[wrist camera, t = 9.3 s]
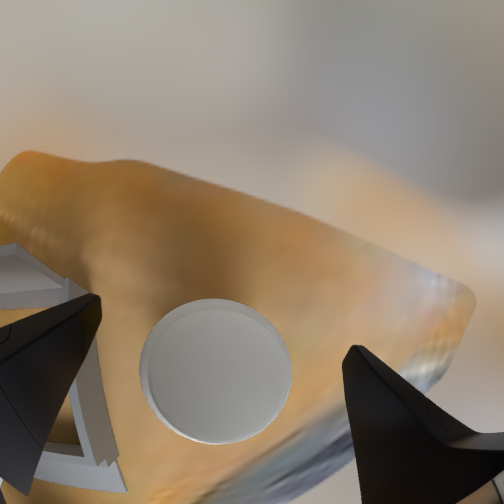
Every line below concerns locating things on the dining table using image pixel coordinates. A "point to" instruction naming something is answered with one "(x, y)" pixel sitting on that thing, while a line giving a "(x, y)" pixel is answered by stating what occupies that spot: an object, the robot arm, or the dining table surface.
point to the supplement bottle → (215, 371)
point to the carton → (81, 391)
